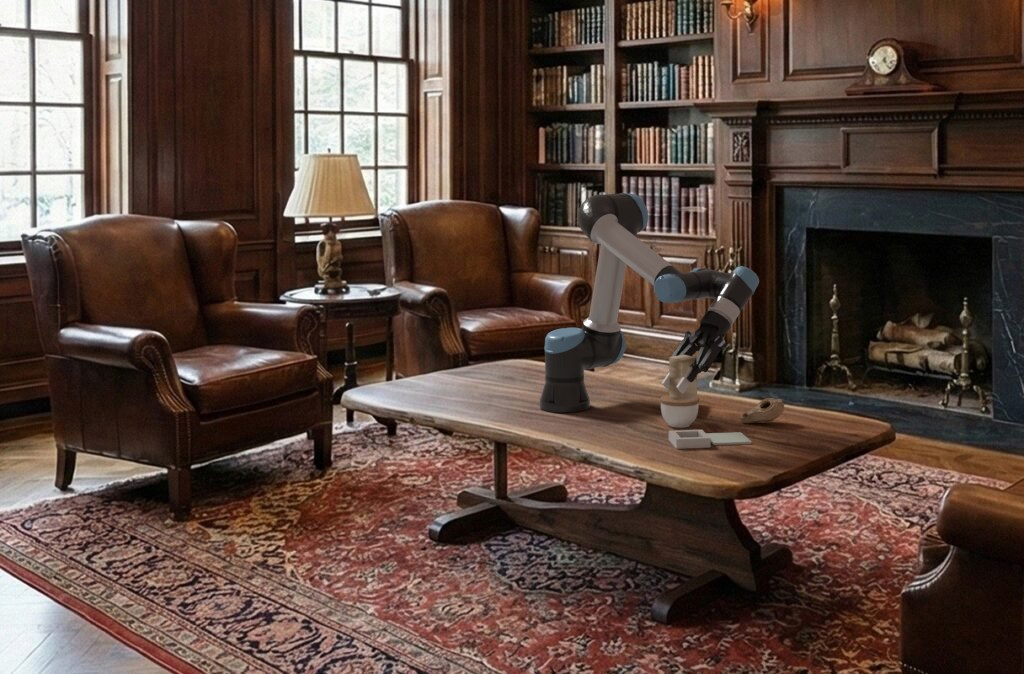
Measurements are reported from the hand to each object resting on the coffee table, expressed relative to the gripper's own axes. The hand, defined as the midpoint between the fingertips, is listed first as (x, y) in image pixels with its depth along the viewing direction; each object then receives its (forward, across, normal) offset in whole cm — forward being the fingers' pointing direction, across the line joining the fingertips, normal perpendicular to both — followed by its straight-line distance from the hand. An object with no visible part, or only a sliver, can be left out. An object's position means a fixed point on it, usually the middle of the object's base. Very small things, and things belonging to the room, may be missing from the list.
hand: (672, 388), depth 291 cm
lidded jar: (-1, +17, -24) cm, 29 cm away
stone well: (+7, 0, -15) cm, 17 cm away
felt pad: (0, -3, -23) cm, 23 cm away
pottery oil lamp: (-14, +4, -38) cm, 41 cm away
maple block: (0, 0, -5) cm, 5 cm away
